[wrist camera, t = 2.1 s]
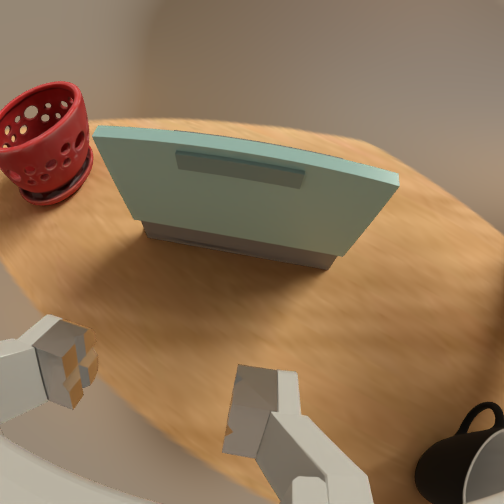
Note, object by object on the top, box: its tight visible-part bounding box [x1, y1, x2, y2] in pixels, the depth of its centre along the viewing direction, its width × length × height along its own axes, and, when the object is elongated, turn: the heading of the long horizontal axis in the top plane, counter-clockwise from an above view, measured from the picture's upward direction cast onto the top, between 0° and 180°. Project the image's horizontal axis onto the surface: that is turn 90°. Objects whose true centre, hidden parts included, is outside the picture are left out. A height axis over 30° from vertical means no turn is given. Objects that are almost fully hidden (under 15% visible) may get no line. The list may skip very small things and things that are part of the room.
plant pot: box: [0, 81, 93, 205], centre depth 33 cm, size 13×13×12 cm
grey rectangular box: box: [141, 130, 343, 270], centre depth 35 cm, size 20×12×5 cm, turn 81°
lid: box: [92, 126, 400, 257], centre depth 24 cm, size 20×12×1 cm
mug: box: [415, 402, 504, 504], centre depth 21 cm, size 12×9×10 cm
